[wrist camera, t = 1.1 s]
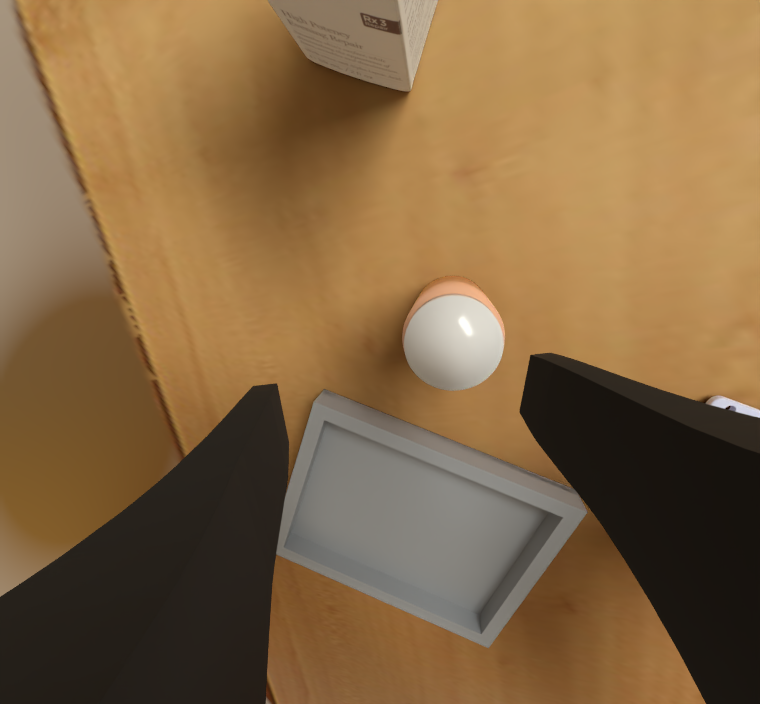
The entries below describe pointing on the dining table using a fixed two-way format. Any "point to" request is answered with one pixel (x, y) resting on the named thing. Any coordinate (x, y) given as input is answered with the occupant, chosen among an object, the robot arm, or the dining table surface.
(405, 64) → the skincare box
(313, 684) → the dining table surface
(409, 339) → the shaker
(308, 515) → the tray
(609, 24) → the dining table surface
